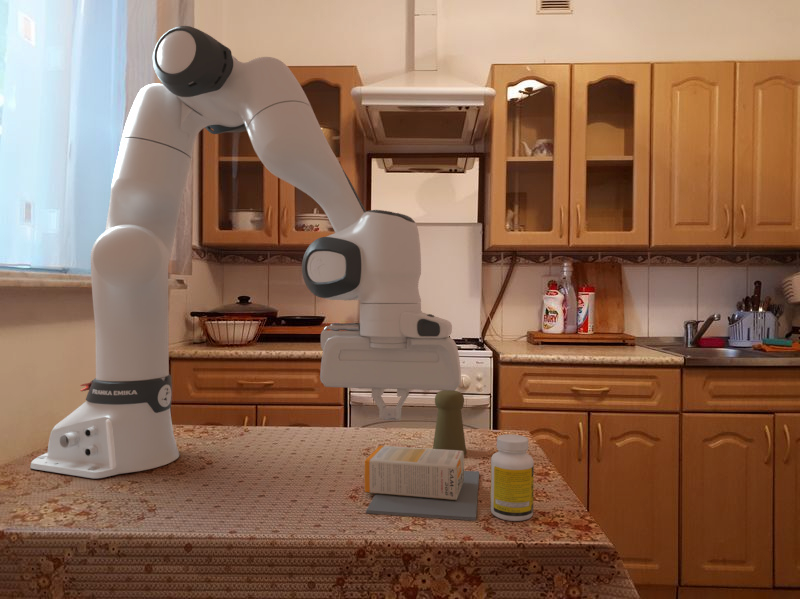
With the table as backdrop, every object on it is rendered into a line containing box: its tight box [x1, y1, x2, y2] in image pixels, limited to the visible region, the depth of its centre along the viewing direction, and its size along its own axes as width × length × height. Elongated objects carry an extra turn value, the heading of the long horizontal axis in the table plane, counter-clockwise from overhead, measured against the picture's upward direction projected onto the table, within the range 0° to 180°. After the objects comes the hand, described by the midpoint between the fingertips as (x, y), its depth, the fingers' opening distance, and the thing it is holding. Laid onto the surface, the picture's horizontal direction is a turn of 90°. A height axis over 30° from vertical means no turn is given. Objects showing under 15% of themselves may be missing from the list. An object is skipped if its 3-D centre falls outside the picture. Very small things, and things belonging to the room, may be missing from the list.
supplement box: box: [363, 445, 465, 500], centre depth 79 cm, size 8×5×13 cm
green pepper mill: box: [432, 390, 467, 456], centre depth 98 cm, size 6×6×11 cm
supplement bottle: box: [490, 433, 535, 522], centre depth 71 cm, size 5×5×10 cm
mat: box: [365, 470, 480, 522], centre depth 79 cm, size 14×18×1 cm
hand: (390, 419), depth 80 cm, fingers closed
